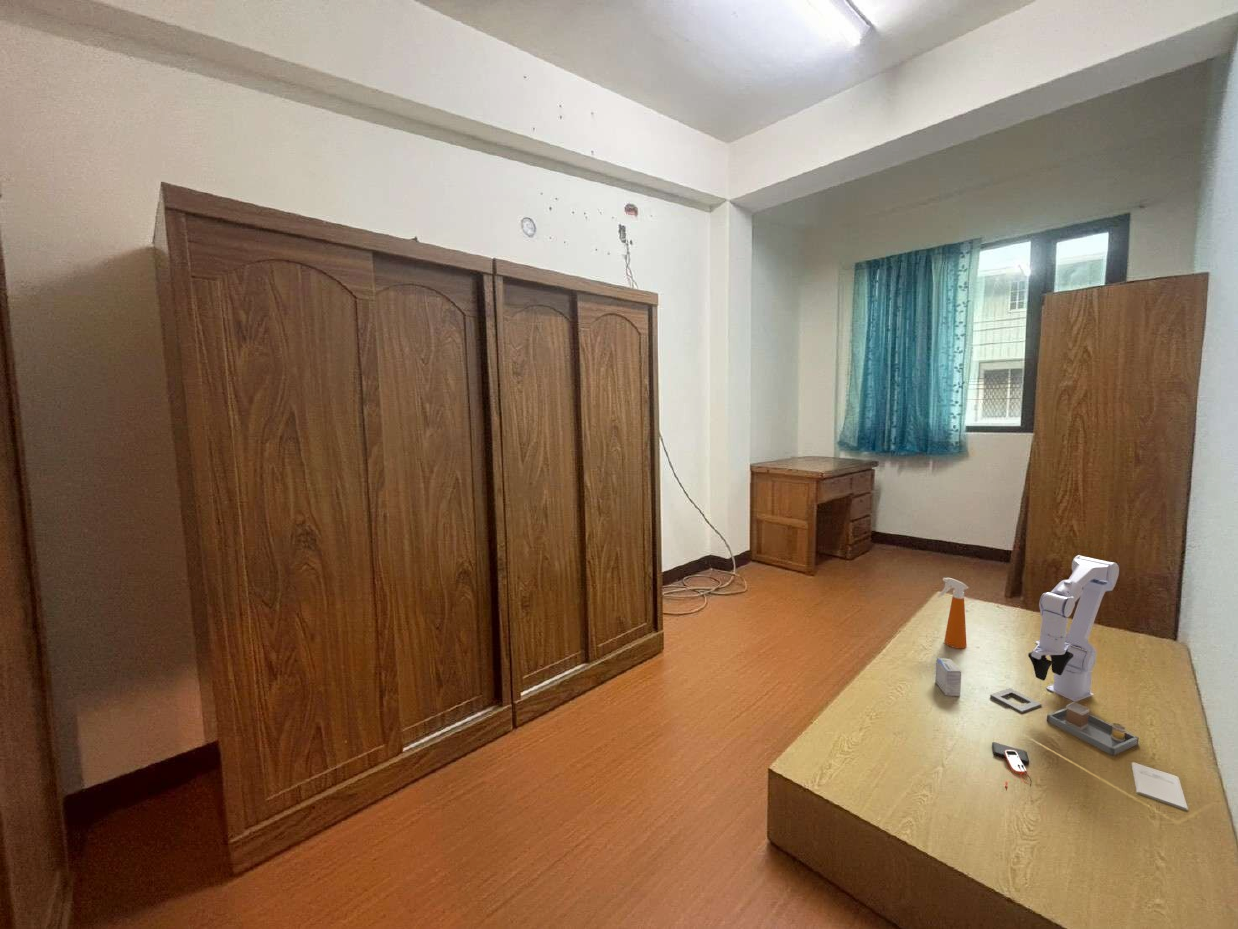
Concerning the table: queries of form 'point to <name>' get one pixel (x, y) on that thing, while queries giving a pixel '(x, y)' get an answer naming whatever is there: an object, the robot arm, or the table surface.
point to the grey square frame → (1010, 692)
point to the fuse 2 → (1118, 732)
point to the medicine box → (948, 677)
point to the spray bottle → (955, 614)
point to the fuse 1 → (1077, 716)
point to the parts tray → (1094, 733)
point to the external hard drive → (1158, 786)
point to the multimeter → (1012, 758)
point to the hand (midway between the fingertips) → (1048, 676)
